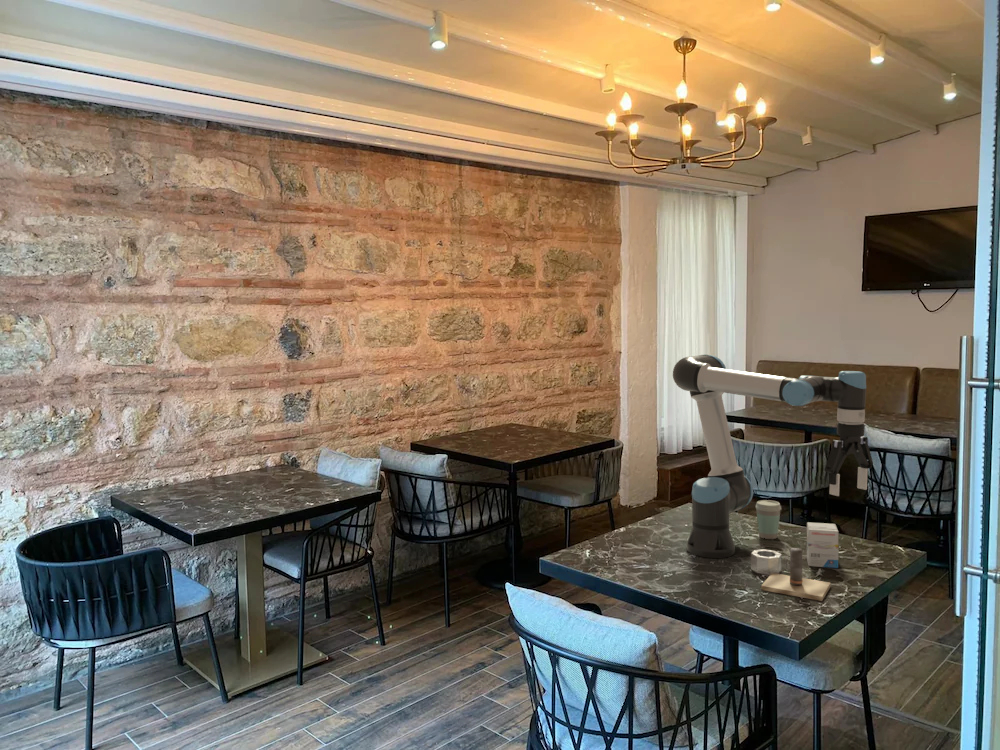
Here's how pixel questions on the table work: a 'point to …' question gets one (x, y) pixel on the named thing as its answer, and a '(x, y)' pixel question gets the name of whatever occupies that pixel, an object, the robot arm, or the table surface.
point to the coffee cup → (768, 518)
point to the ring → (766, 561)
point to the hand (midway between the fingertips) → (848, 491)
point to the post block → (796, 581)
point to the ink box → (822, 545)
